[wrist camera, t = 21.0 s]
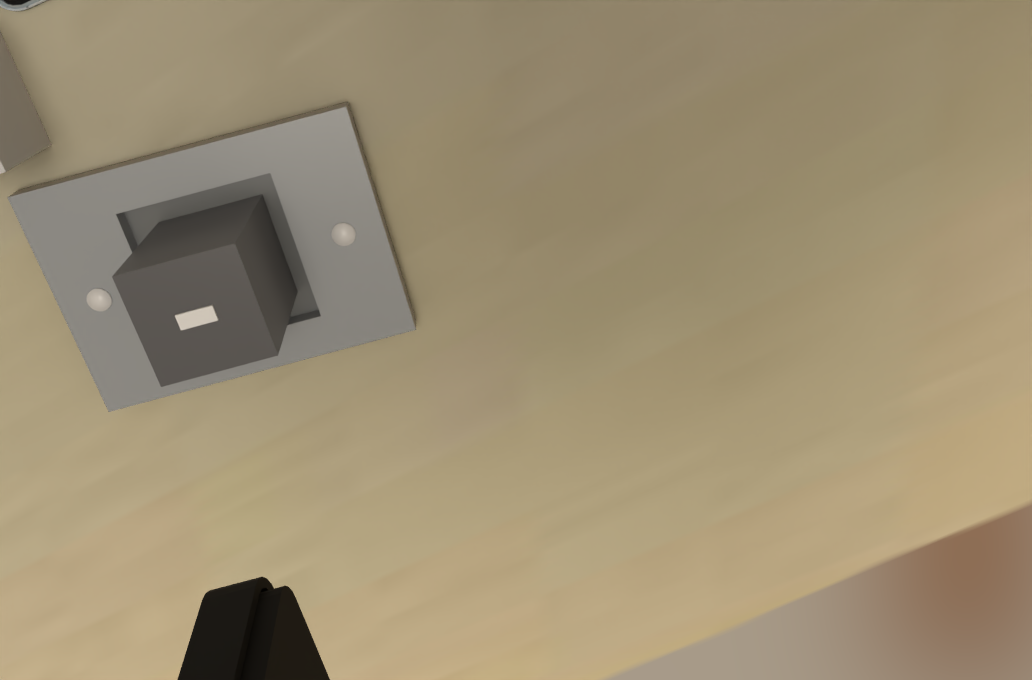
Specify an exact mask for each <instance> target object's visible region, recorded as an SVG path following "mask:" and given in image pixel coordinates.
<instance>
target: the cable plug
mask: <svg viewBox="0 0 1032 680" xmlns="http://www.w3.org/2000/svg"><path fill="white" fill-rule="evenodd" d="M50 145H52V144H51V142H50V140H49V138H48V136H47V133H46V131H45V129H44V127H43V125H42V122H41V120H40V118H39V116H38V113H37V111H36V109H35V107H34V105H33V102H32V100H31V98H30V96H29V94H28V91H27V89H26V87H25V85H24V83H23V80H22V78H21V76H20V74H19V72H18V69H17V67H16V65H15V63H14V60H13V58H12V56H11V54H10V52H9V49H8V47H7V45H6V43H5V41H4V38H3V36H2V34H1V32H0V173H4V172H7V171H8V170H10V169H12V168H13V167H15V166H17V165H18V164H20V163H22V162H23V161H25V160H27V159H28V158H30V157H32V156H34V155H35V154H37V153H39V152H40V151H42V150H44V149H45V148H47V147H49V146H50Z"/></svg>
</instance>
